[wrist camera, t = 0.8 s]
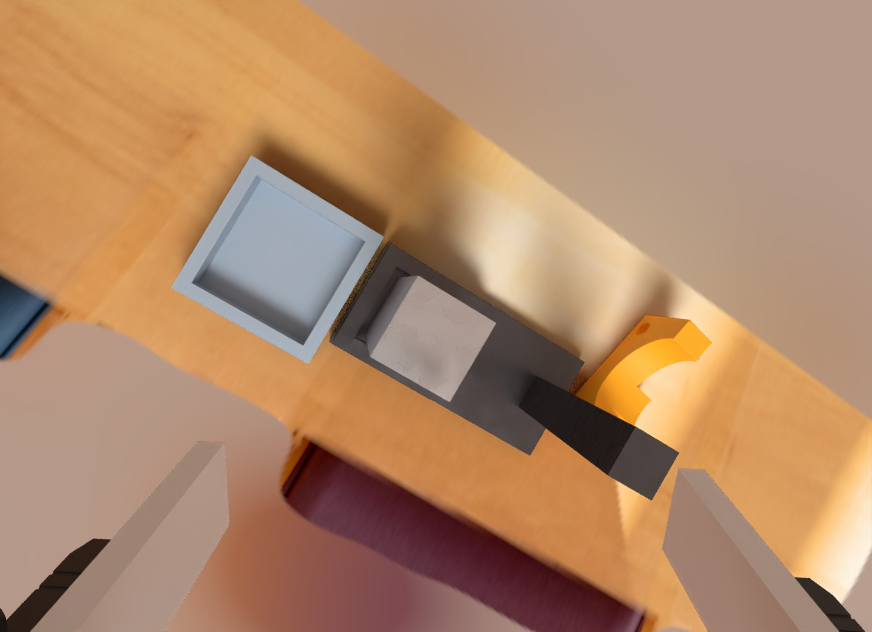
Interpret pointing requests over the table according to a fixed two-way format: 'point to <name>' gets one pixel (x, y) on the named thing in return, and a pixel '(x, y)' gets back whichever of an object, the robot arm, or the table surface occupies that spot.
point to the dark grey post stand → (515, 383)
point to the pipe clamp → (641, 364)
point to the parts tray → (278, 260)
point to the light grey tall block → (427, 335)
